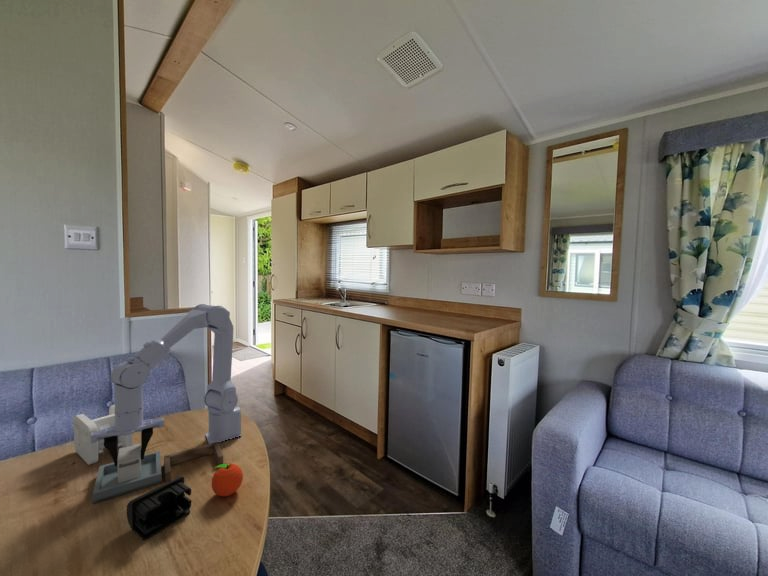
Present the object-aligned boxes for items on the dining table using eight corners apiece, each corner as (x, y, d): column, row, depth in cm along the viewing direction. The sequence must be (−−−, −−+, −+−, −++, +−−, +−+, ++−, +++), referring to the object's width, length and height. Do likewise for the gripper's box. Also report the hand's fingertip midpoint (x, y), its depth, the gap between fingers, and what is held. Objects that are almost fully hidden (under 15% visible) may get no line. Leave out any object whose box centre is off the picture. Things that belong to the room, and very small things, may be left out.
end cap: (177, 499, 75) (177, 472, 75) (193, 512, 71) (193, 482, 71) (126, 528, 66) (125, 496, 66) (141, 543, 63) (140, 510, 62)
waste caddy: (141, 464, 85) (140, 443, 85) (140, 479, 80) (140, 456, 79) (119, 470, 83) (119, 448, 82) (117, 485, 77) (117, 462, 77)
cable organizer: (134, 452, 94) (134, 414, 94) (87, 470, 85) (86, 428, 85) (116, 437, 102) (115, 402, 102) (71, 452, 93) (70, 413, 93)
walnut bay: (217, 449, 96) (217, 441, 96) (223, 464, 89) (223, 455, 89) (164, 464, 88) (163, 456, 88) (165, 482, 81) (165, 473, 81)
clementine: (200, 500, 75) (200, 471, 74) (220, 481, 81) (220, 454, 81) (230, 505, 73) (230, 475, 73) (248, 485, 80) (248, 458, 80)
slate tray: (160, 458, 91) (159, 450, 91) (161, 482, 81) (161, 473, 80) (99, 475, 83) (99, 466, 83) (92, 504, 73) (92, 493, 73)
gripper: (88, 422, 74) (89, 479, 74) (164, 408, 82) (164, 458, 83) (92, 411, 79) (93, 464, 80) (163, 399, 88) (163, 446, 88)
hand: (129, 460), depth 82 cm, fingers closed on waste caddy, 4 cm apart
